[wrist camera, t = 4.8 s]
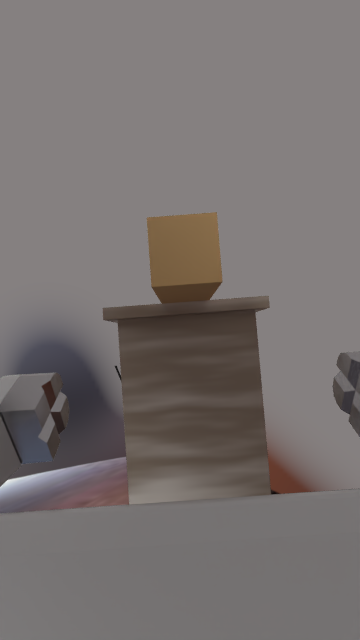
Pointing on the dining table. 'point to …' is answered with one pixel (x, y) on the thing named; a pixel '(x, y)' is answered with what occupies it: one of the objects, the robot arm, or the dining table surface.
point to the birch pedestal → (192, 399)
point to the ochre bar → (184, 257)
